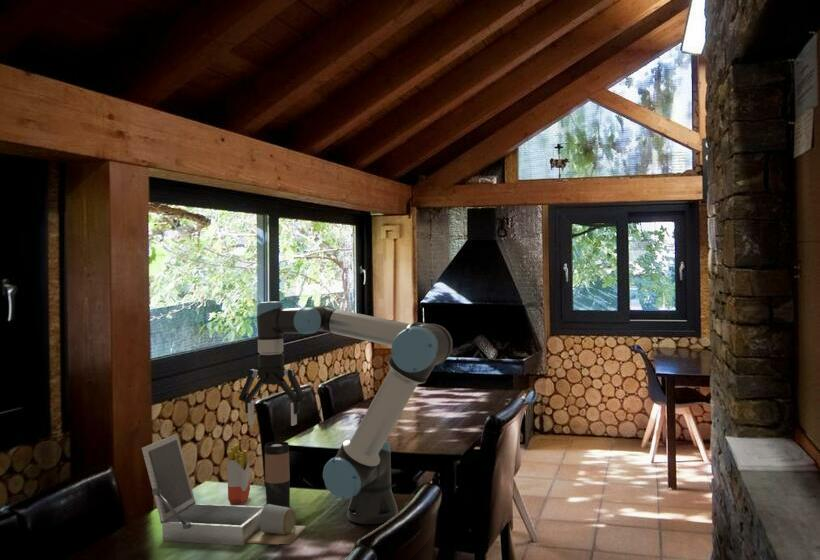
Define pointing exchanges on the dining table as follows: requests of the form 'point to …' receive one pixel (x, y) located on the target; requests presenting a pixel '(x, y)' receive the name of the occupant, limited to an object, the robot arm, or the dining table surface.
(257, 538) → the cork pad
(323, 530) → the dining table surface
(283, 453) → the travel mug
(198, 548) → the dining table surface
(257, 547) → the dining table surface
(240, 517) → the equipment case
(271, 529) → the ceramic mug
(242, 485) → the french fries container
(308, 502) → the dining table surface
